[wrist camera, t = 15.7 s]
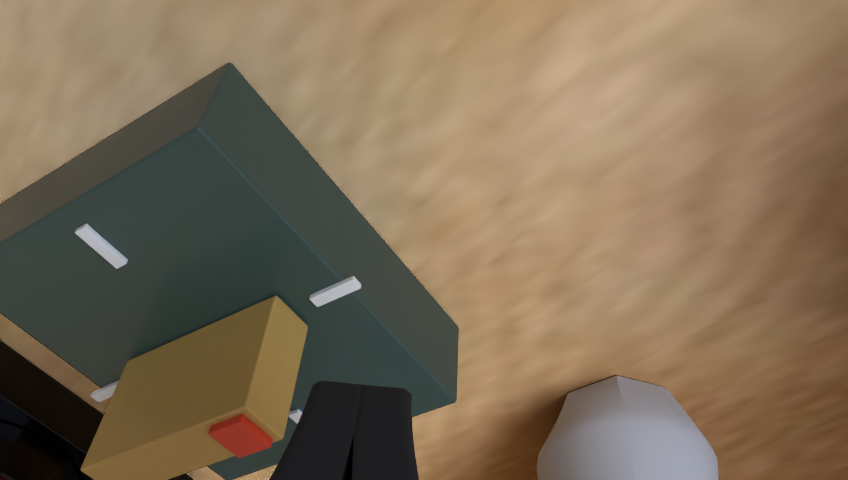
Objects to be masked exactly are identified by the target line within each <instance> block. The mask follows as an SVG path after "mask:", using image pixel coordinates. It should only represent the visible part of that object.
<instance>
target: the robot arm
mask: <svg viewBox="0 0 848 480" xmlns="http://www.w3.org/2000/svg"><path fill="white" fill-rule="evenodd" d="M411 403H412V394H411V393H410V392H408V391H407V390H406V389H405V388H394V387H383V386H373V385H362V384H352V383H341V382H331V381H319V382H317V383H315V384H313V385H312V388H311V391H310V394H309V397H308V400H307V402H306V405H305V407H304V410H303V412H302V415H301V417H300V419H299V422H298V424H297V426H296V428H295V431H294V433H293V435H292V437H291V439H290V441H289V443H288V445H287V447H286V449H285V451H284V453H283V455H282V457H281V459H280V461H279V463H278V465H277V467H276V469H275V471H274V473H273V474H272V476H271V478H270V480H419V478H418V472H417V465H416V459H415V451H414V442H413V432H412V412H411Z"/></svg>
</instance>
